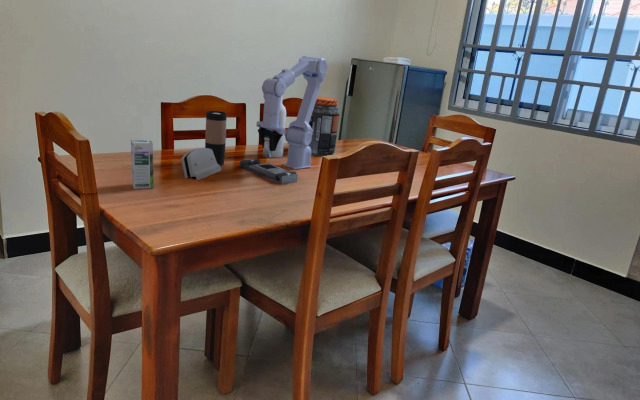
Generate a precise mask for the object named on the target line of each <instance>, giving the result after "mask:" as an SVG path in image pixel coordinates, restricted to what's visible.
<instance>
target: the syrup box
mask: <svg viewBox="0 0 640 400" xmlns="http://www.w3.org/2000/svg"><path fill="white" fill-rule="evenodd" d="M130 151H131V152H130V153H131V154H130V155H131V157H130V158H131V179H132V180H131V183H132V186H133V189H134V190H137V189H139V190H141V189H154V187H155V185H154V184H155V183H154V143H153V141H152V139H133V138H132V139H130Z"/></svg>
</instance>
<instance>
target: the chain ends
mask: <svg viewBox="0 0 640 400" xmlns="http://www.w3.org/2000/svg"><path fill="white" fill-rule="evenodd" d="M238 166H239V167H240V168H242V169H245V170H247V171H250V172H252V173H254V174H257V175H259V176H261V177H264V178H266V179H267V180H271V181H272V182H276V184H279V185H288V184H293V183H297V182H298V175H299V174H297V172H296V171H289V170H287V169H285V168H282V167H280V166H277V165H275V164H272V163H267V162H266V163H261V160H260V159H259V158H252V159H251V158H249V159H243V160H242V159H241V160H239V164H238Z"/></svg>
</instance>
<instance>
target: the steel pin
mask: <svg viewBox="0 0 640 400" xmlns="http://www.w3.org/2000/svg"><path fill="white" fill-rule="evenodd" d="M264 140H265V142H264V149H262V156H263V157H264V158H272V157H271V155H272V151H270V141H269V137H267V136H265V137H264Z"/></svg>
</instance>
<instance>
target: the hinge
mask: <svg viewBox="0 0 640 400" xmlns="http://www.w3.org/2000/svg"><path fill="white" fill-rule="evenodd" d="M181 163H182V169H183V174H184V179H188V178H192V177H193V178H194V177H195V180H196V181H199V180H202V179H204V178H207V177H209V176H211V175H214V174H216V173H219V172H221V171H222V166H220V165H218V164H217V162H216V159H215V156H214V153H213V151H212V150H211V149H208V148H205V147H200V148H199V147H198V148H194V149H192V150H190V151H188V152H187V153H185V154H184V155H183V156H181Z"/></svg>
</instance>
